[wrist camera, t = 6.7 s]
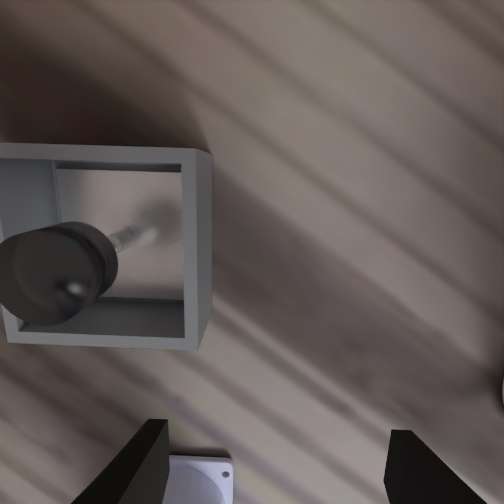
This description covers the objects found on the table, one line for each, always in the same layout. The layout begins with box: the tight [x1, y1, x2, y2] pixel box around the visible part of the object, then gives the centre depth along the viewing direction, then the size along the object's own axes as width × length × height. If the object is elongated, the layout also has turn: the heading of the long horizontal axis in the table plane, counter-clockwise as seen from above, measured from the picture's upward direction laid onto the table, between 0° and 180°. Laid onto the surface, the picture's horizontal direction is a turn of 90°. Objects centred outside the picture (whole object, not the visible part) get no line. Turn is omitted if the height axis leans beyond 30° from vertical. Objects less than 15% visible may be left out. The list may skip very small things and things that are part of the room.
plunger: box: [0, 169, 184, 326], centre depth 14 cm, size 7×7×8 cm
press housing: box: [0, 142, 212, 351], centre depth 16 cm, size 9×9×4 cm
